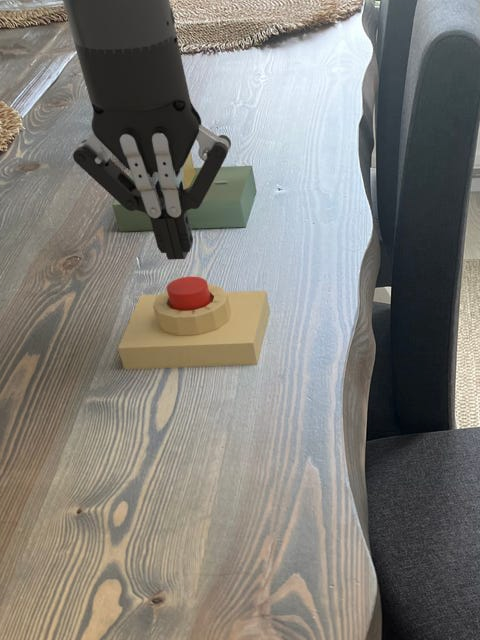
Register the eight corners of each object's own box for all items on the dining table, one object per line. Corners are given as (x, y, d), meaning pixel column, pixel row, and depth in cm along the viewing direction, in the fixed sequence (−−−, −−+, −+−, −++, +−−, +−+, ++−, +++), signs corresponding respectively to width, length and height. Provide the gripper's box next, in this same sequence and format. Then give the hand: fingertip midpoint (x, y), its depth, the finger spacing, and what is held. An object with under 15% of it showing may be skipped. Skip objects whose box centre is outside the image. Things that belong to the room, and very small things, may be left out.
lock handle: (186, 193, 111) (172, 133, 107) (172, 193, 111) (158, 134, 107) (195, 174, 115) (183, 115, 110) (181, 174, 115) (168, 116, 110)
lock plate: (119, 231, 111) (111, 203, 109) (138, 196, 119) (130, 168, 116) (245, 227, 112) (240, 198, 109) (256, 191, 119) (251, 164, 116)
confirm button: (167, 313, 90) (163, 295, 89) (175, 295, 93) (170, 276, 91) (208, 312, 90) (203, 293, 89) (214, 293, 93) (210, 275, 91)
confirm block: (124, 370, 90) (111, 329, 88) (146, 316, 97) (135, 276, 95) (257, 365, 91) (249, 323, 88) (270, 311, 98) (263, 272, 95)
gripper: (21, 48, 73) (92, 277, 85) (202, 41, 73) (248, 272, 85) (50, 20, 78) (113, 240, 90) (219, 14, 78) (260, 235, 90)
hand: (178, 255), depth 88 cm, fingers closed
